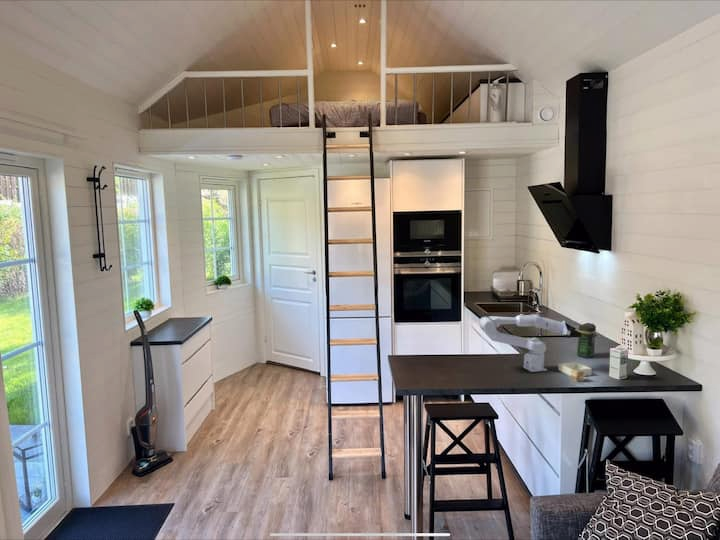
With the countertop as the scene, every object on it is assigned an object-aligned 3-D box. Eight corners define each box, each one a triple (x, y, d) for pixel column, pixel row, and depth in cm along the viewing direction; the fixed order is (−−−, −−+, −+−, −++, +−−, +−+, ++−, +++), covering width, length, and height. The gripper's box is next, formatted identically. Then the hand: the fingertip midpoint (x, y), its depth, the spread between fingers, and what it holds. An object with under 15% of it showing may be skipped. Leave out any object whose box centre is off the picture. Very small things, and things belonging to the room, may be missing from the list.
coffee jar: (589, 359, 275) (591, 326, 273) (575, 356, 281) (576, 324, 279) (596, 355, 282) (598, 323, 280) (582, 352, 288) (583, 321, 285)
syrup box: (618, 379, 243) (620, 350, 241) (608, 376, 248) (610, 347, 246) (627, 378, 245) (629, 349, 243) (616, 374, 250) (618, 346, 249)
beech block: (576, 382, 241) (576, 372, 240) (570, 379, 244) (571, 369, 244) (583, 381, 242) (583, 371, 241) (577, 378, 245) (578, 368, 245)
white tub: (572, 377, 247) (572, 370, 246) (558, 370, 257) (558, 363, 257) (591, 375, 250) (591, 368, 249) (576, 368, 260) (576, 361, 260)
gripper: (561, 323, 249) (586, 330, 250) (550, 314, 263) (575, 321, 264) (555, 335, 251) (581, 343, 251) (546, 326, 265) (570, 333, 265)
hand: (577, 332), depth 257 cm, fingers open, 7 cm apart
